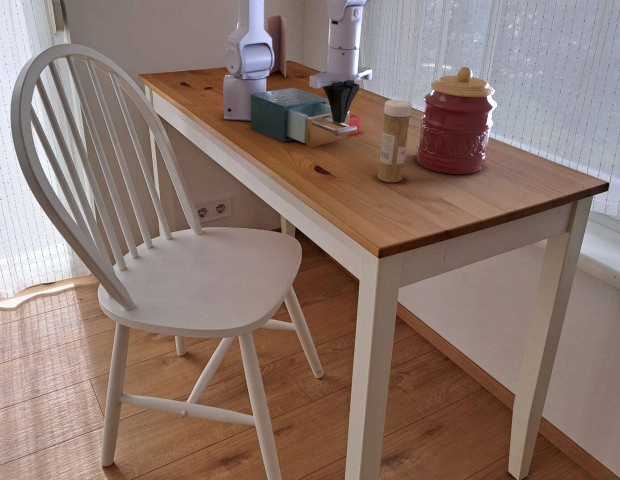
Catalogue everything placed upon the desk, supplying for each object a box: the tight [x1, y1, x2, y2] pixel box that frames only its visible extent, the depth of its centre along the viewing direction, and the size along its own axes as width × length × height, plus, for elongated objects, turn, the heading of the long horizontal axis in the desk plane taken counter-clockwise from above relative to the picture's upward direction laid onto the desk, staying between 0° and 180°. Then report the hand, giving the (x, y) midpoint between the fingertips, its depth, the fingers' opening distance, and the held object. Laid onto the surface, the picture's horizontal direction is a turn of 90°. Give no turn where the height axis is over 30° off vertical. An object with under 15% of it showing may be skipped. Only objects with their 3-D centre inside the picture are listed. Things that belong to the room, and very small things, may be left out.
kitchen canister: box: [416, 66, 497, 175], centre depth 109 cm, size 13×13×18 cm
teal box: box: [250, 87, 328, 143], centre depth 125 cm, size 11×12×7 cm
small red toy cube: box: [348, 113, 361, 136], centre depth 127 cm, size 4×4×3 cm
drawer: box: [286, 103, 357, 148], centre depth 119 cm, size 15×10×6 cm
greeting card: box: [264, 14, 288, 78], centre depth 170 cm, size 11×7×15 cm, turn 157°
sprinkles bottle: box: [377, 99, 413, 184], centre depth 102 cm, size 5×5×13 cm
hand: (338, 121), depth 115 cm, fingers closed
